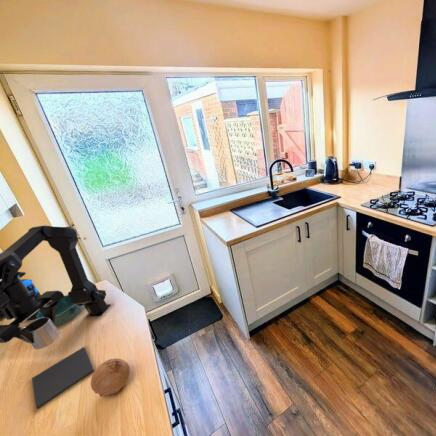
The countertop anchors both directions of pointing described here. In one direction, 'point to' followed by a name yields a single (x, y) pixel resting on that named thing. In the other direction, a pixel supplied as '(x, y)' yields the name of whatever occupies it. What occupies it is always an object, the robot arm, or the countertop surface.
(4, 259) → the robot arm
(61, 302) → the teal bowl
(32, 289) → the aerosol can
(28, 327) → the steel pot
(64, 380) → the trivet
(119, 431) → the countertop surface
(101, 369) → the brown coconut
